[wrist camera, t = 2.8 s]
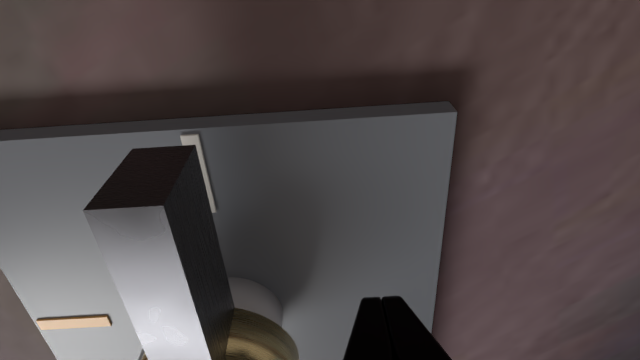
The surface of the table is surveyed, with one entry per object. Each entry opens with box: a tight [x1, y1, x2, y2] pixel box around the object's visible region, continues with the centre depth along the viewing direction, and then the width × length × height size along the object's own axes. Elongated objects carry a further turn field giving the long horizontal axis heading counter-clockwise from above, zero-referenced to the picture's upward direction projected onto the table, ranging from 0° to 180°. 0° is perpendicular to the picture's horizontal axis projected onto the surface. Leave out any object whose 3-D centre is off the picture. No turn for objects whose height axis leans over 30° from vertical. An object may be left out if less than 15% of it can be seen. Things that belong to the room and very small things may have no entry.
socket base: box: [0, 101, 457, 360], centre depth 17 cm, size 18×18×5 cm
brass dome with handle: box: [83, 145, 299, 360], centre depth 14 cm, size 6×12×3 cm, turn 3°
